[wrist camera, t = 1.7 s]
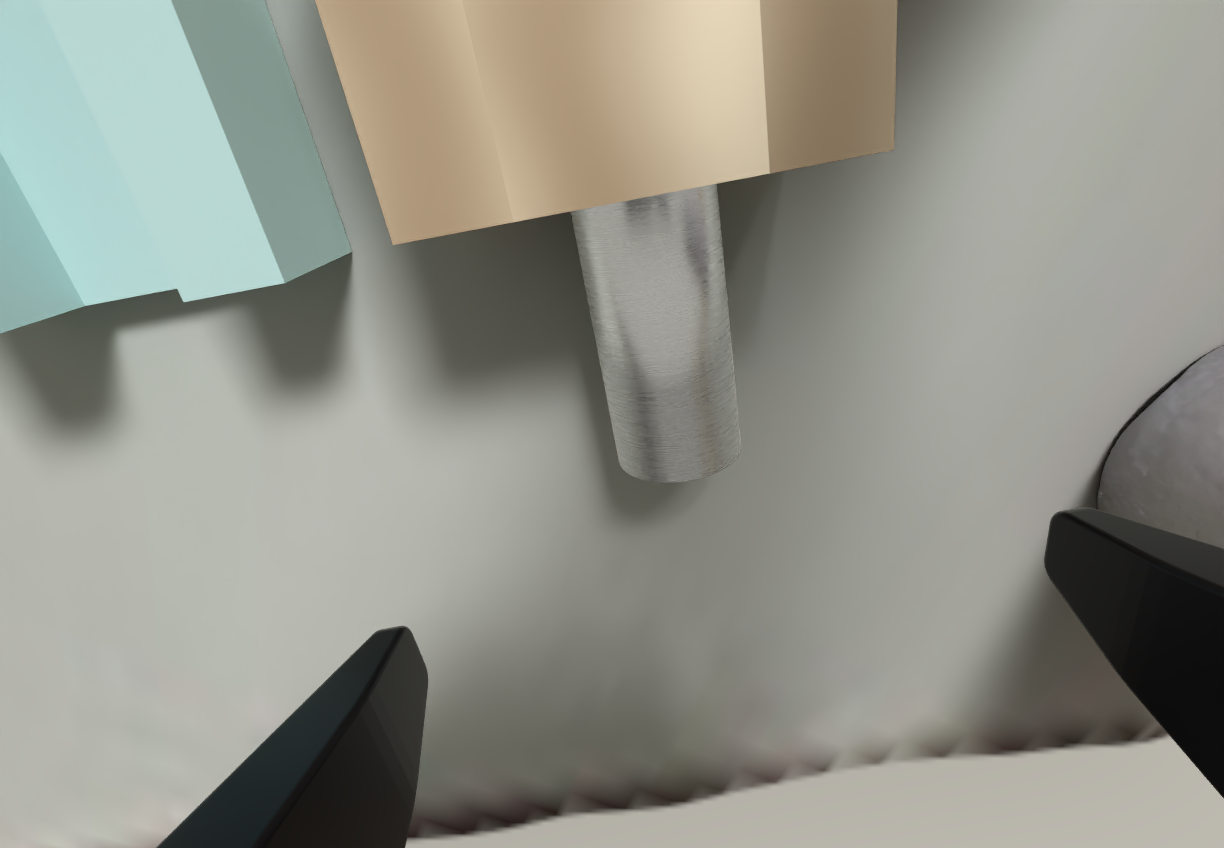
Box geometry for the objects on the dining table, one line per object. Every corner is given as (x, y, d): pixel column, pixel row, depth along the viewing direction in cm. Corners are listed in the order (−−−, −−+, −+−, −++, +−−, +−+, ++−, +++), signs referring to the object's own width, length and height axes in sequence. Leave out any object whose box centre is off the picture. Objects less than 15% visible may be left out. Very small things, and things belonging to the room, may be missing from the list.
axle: (455, -308, 11) (460, -485, 8) (627, -320, 12) (691, -488, 9) (605, 441, 18) (638, 496, 15) (711, 412, 19) (763, 459, 16)
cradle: (222, -120, 13) (79, -230, 9) (352, 251, 16) (284, 283, 13) (-172, -39, 13) (-470, -113, 10) (35, 311, 17) (-125, 360, 13)
